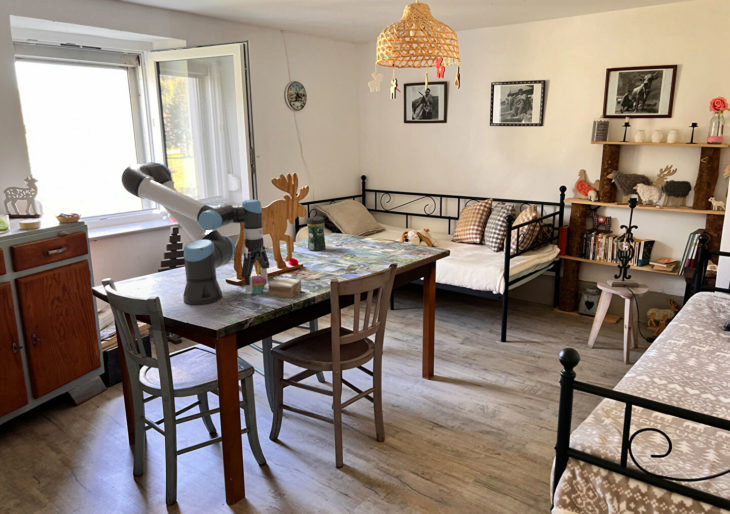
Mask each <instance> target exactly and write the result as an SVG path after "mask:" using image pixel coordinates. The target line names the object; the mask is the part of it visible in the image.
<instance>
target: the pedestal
mask: <svg viewBox="0 0 730 514" xmlns="http://www.w3.org/2000/svg"><path fill="white" fill-rule="evenodd" d="M267 284H268V285H267V286H268V296H269V297H276V298H277V297H278V298H287V299H288V298H290V299H292V298H293V297H295V296H296V295H297V294H299V293H300V292H302V279H299V278H290V277H289V278H287V277H278V278H276V279H274V280H273V281H271V282H270V283H267Z"/></svg>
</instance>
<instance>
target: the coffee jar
mask: <svg viewBox="0 0 730 514" xmlns="http://www.w3.org/2000/svg"><path fill="white" fill-rule="evenodd" d="M306 225H307V229H308V232H307V233H308V236H307V237H308V238H307V248H308V249H307V250H309V251H311V252H313V251H315V252H317V251H318V252H319V251H323V250H325V249H326V248H327V247H326V240H325V239H326V238H325V218H324V216H311V217H308V218H306Z"/></svg>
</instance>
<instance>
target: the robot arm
mask: <svg viewBox="0 0 730 514" xmlns="http://www.w3.org/2000/svg"><path fill="white" fill-rule="evenodd" d="M172 175H173V174H172V172H171V170H170V168H168V166H166V165H165V164H163V163H161V162H146V163H139V164H138V163H137V164H132V165H129V166H127V167H126V168H125V169H124V170H123V172H122V175H121V183H122V186H123V187H124V189H125V190H126V192H128V193H129V194H131V195H133V196H135V197H138V198H139V199H141V200H146V199H148V200H150V201H151V202H154V203H156V204H158V205H160V206H162V207H163V208H164V209H165V210H166V211H167V213H169V215H170V216H171V217H172V218H173V219H174V220H175V222H177V224H178V225H179V226H180V227H181V228H182V230H184V232H185V233H186V234H187V235H188V236H189V237H190V238H191V240H192V241H190V242H188V243H187V244H185V246H184V247H183V258H184V268H185V269H184V271H185V279H186V280H185V281H186V283H185V288H184V292H183V297H182V298H183V302H184V303H186V304H188V305H197V306H198V305H200V306H201V305H209V304H212V303H217V302H219V301H221V300H222V299H223V292H222V289H221V287H220V284H219V282H218V279H217V269H218V268H219V267H222V266H223V265H227V264H228V263H229V262H230V261H233V259H234V257H235V255H234V251H235V252H236V245H235V243H234V240H232V238H230V237H229V236H227V235H222V234H221V233H220V232H219V231H218V230H217V229H219V228H222V227H224V226H227V225H230V224H243V236H244V238H245V239H244V247H245V248H246V249H247V250H248V251H247V252H244V253H243V260H242V261H243V262H242V268H241V274H240V276H241V278H244V285H245V287H244V288H245V293H250V294H253V293H252V292H253V290H252V272H253V269H254V265H255V263H256V262H258V264H259V267H260V268H259V272H260V276H262V277H264V278H265V279H266V280H267V283H266V285H267V284H269V283H268V282H269V281H268V269H269V268H270V262H269V257H268V254H267V251H266V247H265V244H264V238H263V236H264V229H263V210H262V202H261V200H258V199H245V200H242V203H241V204H227V203H224V204H217V205H216V207H212V206H209V204H208V205H207V204H206V203H203V202H201V201H199V200H197V199H194V198H192V197H191V196H188V195H186V194H183V193H182V192H179V191H178V190H177V189H176V188H175V181H174V180H173V177H172Z"/></svg>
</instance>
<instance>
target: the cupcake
mask: <svg viewBox="0 0 730 514" xmlns="http://www.w3.org/2000/svg"><path fill="white" fill-rule="evenodd" d="M256 269H257V270H256V271H257V272H256V273H257V274H256V275H253V276H252V275H251V277H252V290H253V292H252V293H251V294H253V295H258V294H262V293H264V289H265V287H266V285H267V284H268V283H267V280H268V279H267V280H266V279H265V278H264V277H262V276H261V275H260V273H259V272H260V264H259V263H258V264H257V268H256ZM266 283H267V284H266Z"/></svg>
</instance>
